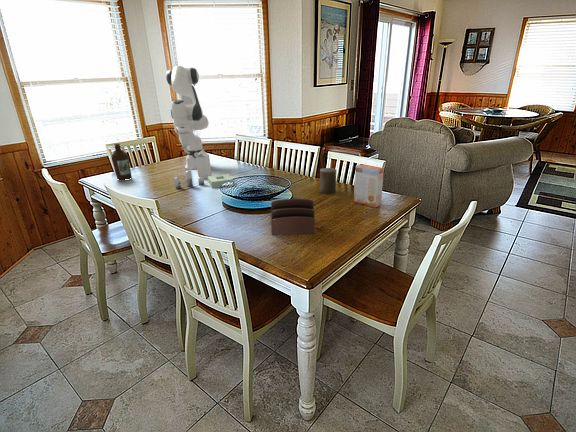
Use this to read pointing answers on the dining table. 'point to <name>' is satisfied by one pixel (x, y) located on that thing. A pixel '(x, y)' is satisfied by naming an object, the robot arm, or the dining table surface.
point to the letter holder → (292, 217)
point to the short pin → (201, 181)
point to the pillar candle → (327, 180)
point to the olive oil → (121, 163)
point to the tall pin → (189, 179)
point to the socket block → (219, 180)
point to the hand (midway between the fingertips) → (185, 150)
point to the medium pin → (177, 182)
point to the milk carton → (203, 164)
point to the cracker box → (368, 185)
